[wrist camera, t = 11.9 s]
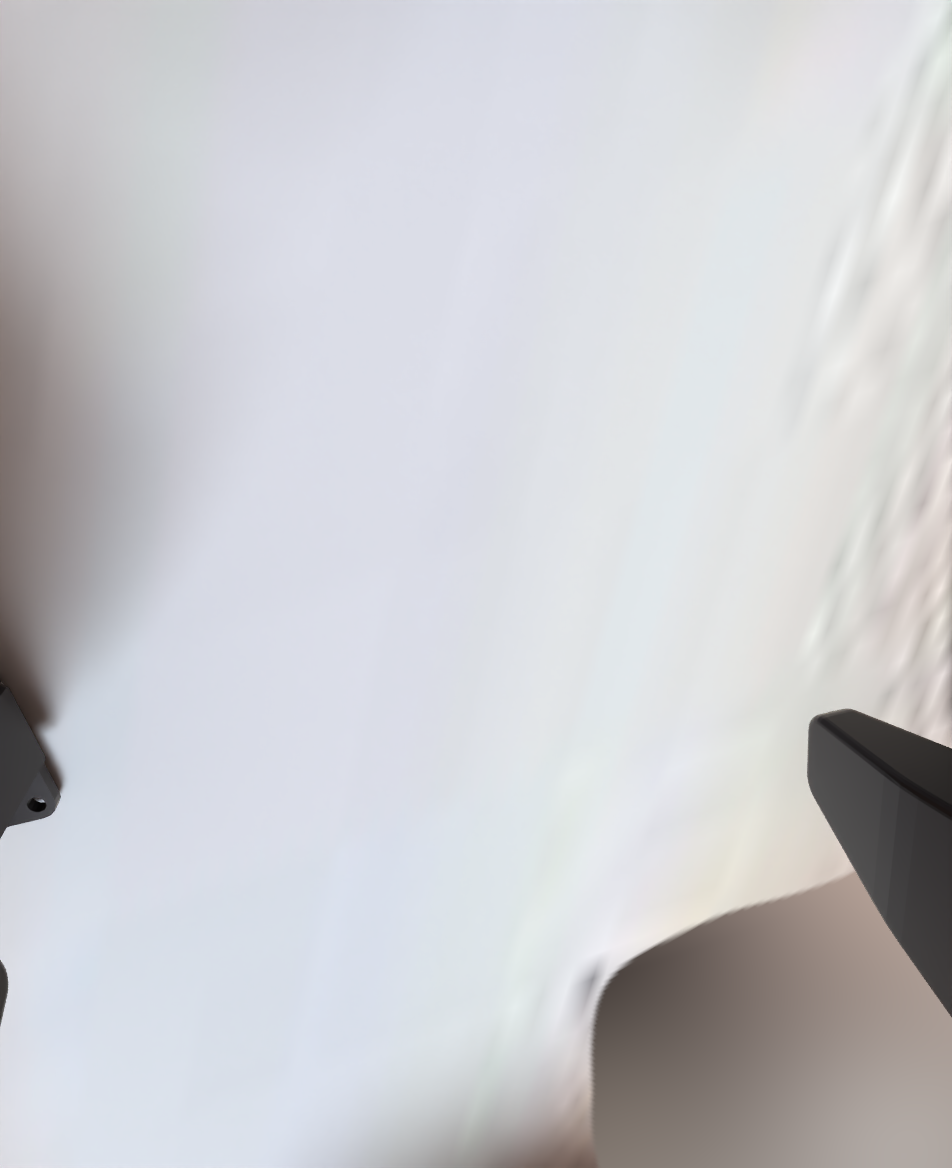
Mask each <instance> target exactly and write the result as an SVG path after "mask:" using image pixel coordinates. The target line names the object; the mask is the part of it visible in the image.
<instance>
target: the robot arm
mask: <svg viewBox="0 0 952 1168" xmlns="http://www.w3.org/2000/svg"><path fill="white" fill-rule="evenodd" d="M44 761H45V755H44V753H43V751H42V750H41V748H40V746H39V744H38V742H37V740H36V738H35V736H34V734H33V733H32V731H31V729H30V727H29V725H28V723H27V721H26V719H25V717H24V716H23V714H22V712H21V710H20V708H19V706H18V704H17V702H16V700H15V699H14V697H13V695H12V693H11V691H10V689H9V688H8V687H7V686H5V685H4V684H3V683H1V681H0V838H1V836H2V835H3V833H4V831H5V829H6V828H7V827H9V826H13V825H17V824H21V823H25V822H30V821H34V820H38V819H42V818H45V817H48V816H50V815H51V814H52V813H53V812H54V811H55V809H56V807H57V805H58V803H59V801H60V797H61V796H60V792H59V790H58V788H57V786H56V784H55V782H54V781H53V779H52V777H51V775H50V773H49V771H48V769H47V767H46V766H45V764H44ZM807 777H808V783H809V786H810V789H811V792H812V794H813V796H814V798H815V800H816V802H817V804H818V805H819V807H820V809H821V811H822V813H823V814H824V816H825V818H826V820H827V821H828V823H829V825H830V827H831V828H832V830H833V832H834V834H835V836H836V837H837V839H838V841H839V843H840V844H841V846H842V848H843V850H844V851H845V853H846V855H847V857H848V859H849V860H850V862H851V864H852V866H853V867H854V869H855V871H856V873H857V874H858V876H859V878H860V880H861V881H862V883H863V885H864V887H865V889H866V890H867V892H868V894H869V896H870V897H871V899H872V901H873V903H874V904H875V906H876V907H877V909H878V911H879V913H880V914H881V916H882V918H883V919H884V921H885V923H886V924H887V926H888V927H889V929H890V930H891V931H892V933H893V934H894V936H895V938H896V939H897V940H898V942H899V943H900V945H901V946H902V948H903V949H904V950H905V952H906V953H907V955H908V956H909V958H910V959H911V960H912V962H913V963H914V965H915V966H916V967H917V969H918V970H919V972H920V973H921V975H922V976H923V977H924V979H925V980H926V982H927V983H928V985H929V986H930V987H931V989H932V990H933V992H934V993H935V994H936V996H937V997H938V998H939V1000H940V1002H941V1003H942V1004H943V1006H944V1007H945V1009H946V1010H947V1011H948V1013H949V1014H950V1016H951V1017H952V749H951V748H949V747H946V746H944V745H941V744H939V743H936V742H934V741H931V740H929V739H926V738H924V737H921V736H919V735H916V734H914V733H911V732H909V731H906V730H904V729H901V728H899V727H896V726H894V725H891V724H888V723H886V722H883V721H881V720H878V719H876V718H873V717H871V716H868V715H866V714H863V713H861V712H858V711H856V710H852V709H841V710H837V711H832V712H828V713H824V714H820V715H817V716H815V717H814V718H812V720H811V722H810V724H809V732H808V763H807ZM33 798H40V799H43V800H44V801H45V802H42V803H40V802H38V801H35V800H34V799H33ZM7 993H8V976H7V972H6V969H5V967H4V965H3V963H2V962H1V960H0V1025H1V1021H2V1016H3V1012H4V1007H5V1003H6V998H7Z"/></svg>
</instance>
